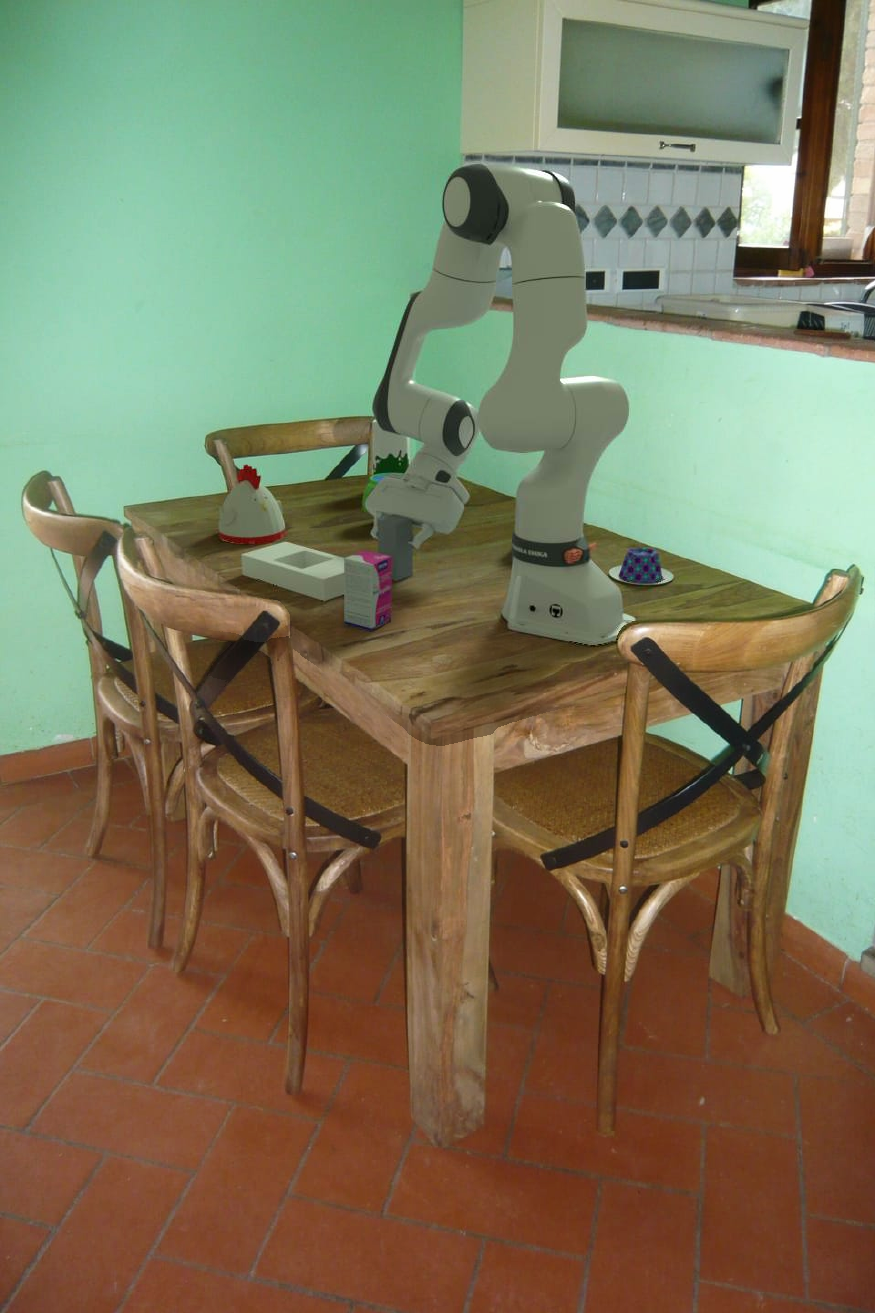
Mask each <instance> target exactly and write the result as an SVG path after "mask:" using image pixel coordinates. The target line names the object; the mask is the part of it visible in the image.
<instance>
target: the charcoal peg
mask: <svg viewBox="0 0 875 1313" xmlns="http://www.w3.org/2000/svg"><path fill="white" fill-rule="evenodd" d="M412 535H413V526H412V520H411V519H409V518H405V517H401V516H396V515H390V516H387V517H383V518H380V519H378V539H377V549H378V550H377V551H378V554H383V555H388V556H391V557H392V579H391V580H392V581H394V582H398V581H401V580H404V579H408V578H410V577H412V576H413V575H414V574H413V563H414V562H413V548H412V547H410V545H409V544H408V541H409V540H410V538H411V536H412Z"/></svg>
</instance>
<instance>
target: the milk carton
mask: <svg viewBox="0 0 875 1313" xmlns="http://www.w3.org/2000/svg"><path fill="white" fill-rule="evenodd" d="M371 423H372V427H371V428H372V429H371V435H372V438H371V439H372V441H371V444H372V476H373V475H376V474H382V473H404V474H405V472H406V470H407V469H408V467H409V465H410V463H411V458H410V457H411V451H410V450H411V447H410V445H411V444H410V443H411V438H409V437H407V436H404V435H399V434H395V433H391V432H388V431H384V430H382V429H381V428H380V426H379V425H378V423H377V421H376V419H375V418H374V419H373V421H372V422H371Z"/></svg>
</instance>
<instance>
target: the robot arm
mask: <svg viewBox="0 0 875 1313" xmlns="http://www.w3.org/2000/svg"><path fill="white" fill-rule="evenodd" d="M441 199H442V200H441V202H442V203H441V204H442V205H441V206H442V207H441V208H442V213H443V214H442V215H443V217H444V221H443V223H442V226H441V229H440V233H439V237H438V240H437V244H436V249H435V253H434V258H433V264H432V269H431V273H430V277H429V279H428V281H427V283H426V284H425V286H424V288H423V289H422V290H419V291H416V292H415V293H414V294H413V295H412V296H411V298H410V299H409V301H408V303H407V305H406V307H405V308H404V312H403V314H402V318H401V320H400V324H399V326H398V329H397V333H396V334H395V335H396V336H395V339H394V341H393V345H392V348H391V350H390V351H391V352H390V355H389V358H388V361H387V364H386V367H385V371H384V373H383V376H382V379H381V381H380V383H379V386H378V387H377V390H376V392H375V394H374V397H373V401H372V405H371V406H372V413H373V416H374V419H376V421H377V423H378V425H379V426H380V428H381V429H382V430H384V431H388V432H391V433H395V434H399V435H404V436H407V437H409V438H410V439H412V440H415V441H418V442H420V443H422V444H423V445H422V447H421V448H420V449H419V450H417V451H416V454H414V456H413V457H412V460H411V461H410V465H409V467H408V469H407V470H406V472H405V474H404V475H399V474H397V473H391V475H387V476H385V477H383V479H382V480H381V481H380V482H379V483H378V484H377V485H376V487H375V488H374V489H373V491H371V492H370V495H369V496H368V498H367V499H366V501H365V508H366V509H367V510H368V512H369V513H368V514H370V515H371V516H373V527H372V529H371V530H370V535H371V537H372V538H374V539H377V540H378V519H380V518H383V517H387V516H390V515H396V516H401V517H405V518H409V519H411V520H412V527H417V528H420V529H421V530H420V531H419V532H417V534H415V535H413V534H412V536H411V538H410V540H409V541H408V544H409V545H410V547H412V549H413V548H414V549H416V550H418V549H419V548H420V547H421V545H422V543H423V542H425V541H426V540H427V539H429V538H430V537H431V536H433V534H434V532H436V533H441V534H445V535H448V534H450V533H451V532H453V531H454V530H455V529H456V527H457V525H458V523H459V522H460V520H461V518H462V515H463V512H464V511H465V504H467V503H468V501H469V499H470V496H471V495H470V494H469V492H468V491H467V488H465V486H464V485H463V483H462V482H461V481H460V480H459V479H458V478H457V476H458V472H459V470H460V468H461V466H462V465H463V464H464V463H465V462H466V461H467V459H468V457H469V455H470V453H471V452H472V449H473V447H474V446H475V444H476V440H477V438H478V437H479V433H481V436H482V438H483V439H484V441H485V442H486V443H487V445H489V447H490V448H492V449H493V450H496V451H501V452H507V453H516V454H517V453H518V454H528V453H536V452H543V454H542V457H541V458H540V461H539V463H538V464H537V465H536V466H535V468H533V469H532V471H531V472H529V473H527V475H525V477H523V478H522V480H521V481H520V482H519V484H518V486H517V489H516V494H515V495H516V496H515V515H514V516H515V517H514V518H515V519H514V522H515V523H514V531H512V535H511V548H510V549H511V551H510V552H511V553H510V554H511V558H512V566H511V574H510V579H509V586H508V590H507V594H506V595H507V596H506V598H505V599H506V600H505V601H504V605H503V608H502V610H501V615H502V617H503V618H504V619H505V620H506V622H507V628H508V629H509V630H512V631H515V632H521V633H525V634H530V635H535V636H540V637H545V638H550V639H555V640H560V641H565V642H569V641H573V642H572V643H574V642H578V643H577V644H579V643H583V644H582V645H584V644H588V645H587V646H590V645H594V644H601V643H606V642H609V641H613V642H616V641H617V640H616V638H617V635H618V633H619V631H620V630H621V628H622V627H623V626H624V625H626V624H628V623H631V622H632V621H636V618H635V617H634V616H632V615H630V614H627V613H626V612H625V613H624V605H623V598H622V597H623V596H622V592H621V590H620V588H619V586H618V585H617V584H616V583H614V581H613V580H611V579H610V577H608V576H607V575H606V573H604V571H602V569H601V568H600V567H599V566H598V565H597V564H596V563H595V562H594V561H593V560H592V559H591V558H592V556H591V552H592V551H594V550H596V549H597V547H595V546H596V545H597V542H593V543H592V542H591V543H589V544H588V542H587V539H586V536H585V534H584V533H583V531H584V520H585V512H586V511H585V508H586V501H587V500H586V499H587V494H588V488H589V485H590V481H591V478H592V476H593V474H594V471H595V469H596V466H597V464H598V462H599V460H600V459H601V457H602V455H603V454H604V452H605V450H607V448H608V447H609V446H610V444H611V443H612V442H613V441H614V440H615V439H616V438H617V437H618V436H620V434H622V432H623V431H624V429H625V427H626V425H627V423H628V419H629V415H630V403H629V399H628V395H627V393H626V390H625V389H624V387H623V385H622V384H620V382H619V381H617V380H616V379H613V378H607V377H605V376H604V377H603V376H597V375H591V374H584V375H582V374H581V375H572V376H571V375H570V376H561V374H562V373H561V371H562V367H563V363H564V360H565V357H566V355H567V353H568V352H569V351H570V350H571V349H573V348H574V347H575V346H576V345H578V344H579V343H580V342H581V341H582V340H583V339H584V337H585V335H586V332H587V328H588V313H587V312H588V311H587V310H588V309H587V288H586V287H587V286H586V266H585V256H584V248H583V243H582V242H583V241H582V236H581V231H580V227H579V223H578V219H577V215H576V213H575V212H576V197H575V192H574V189H573V186H572V185H571V183H570V181H569V180H568V179H567V178H565V177H564V176H562V175H561V174H559V173H557V172H553V171H550V170H547V169H544V170H538V169H533V168H527V167H522V166H521V167H520V166H518V165H515V164H487V165H486V164H485V165H484V164H482V163H474V164H468V165H464V166H461V167H458V168H457V169H455V170H454V171H453V172H452V173H451V174H450V175H449V177H448V179H447V181H446V183H445V186H444V188H443V193H442V198H441ZM506 248H507V250H508V251H509V254H510V260H511V285H512V286H511V288H512V289H511V290H512V291H511V292H512V311H513V314H512V317H513V318H512V319H513V320H512V321H513V324H512V326H513V327H512V328H513V331H512V342H511V348H510V352H509V355H508V359H507V361H506V364H505V366H504V368H503V370H502V373H501V374H500V376H499V377H498V379H497V380H496V381H495V382H494V384H493V385H492V386H491V387H490V388H489V389H488V390H487V391H486V392H485V394H484V395H483V397H482V398H481V401H480V403H479V406H478V407H479V408H478V410H477V408H476V407H474V405H472V404H471V403H469V402H467V401H465V400H464V399H462V398H460V397H458V396H455V395H452V394H450V393H447V392H445V391H441V390H438V389H435V388H431V387H428V386H426V385H422V384H420V383H418V382H417V381H416V380H415V379H414V372H415V369H416V368H415V367H416V365H417V362H418V359H419V356H420V353H421V351H422V347H423V343H424V341H425V339H426V337H427V336H428V334H429V333H431V332H432V331H438V330H448V329H455V328H461V327H465V326H469V325H472V324H473V323H475V322H477V321H479V320H480V319H481V318H483V317H484V316H485V315H486V314H487V313H488V312H489V310H490V308H491V306H492V303H493V300H494V297H495V293H496V288H497V285H498V284H497V283H498V279H499V272H500V268H501V260H502V256H503V252H504V250H505V249H506Z"/></svg>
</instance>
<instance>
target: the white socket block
mask: <svg viewBox="0 0 875 1313" xmlns="http://www.w3.org/2000/svg"><path fill="white" fill-rule="evenodd" d="M240 557H241V558H240V559H241V570H242V571H241V572H242V576H245V577H248V578H251V579H255V580H257V579H260V580H263V581H266V582H265V583H267V582H269V583H268V584H270V583H271V584H270V585H273V584H274V586H276V585H277V587H279V588H283V589H286V590H287V591H292V592H295V593H298V594H301V595H304V596H307V597H310V598H314V599H317V600H320V601H322V600H323V602H326V601H329V600H331V599H334V598H337V597H340V596H342V595H344V558H345V557H342V556H338V555H335V554H332V553H327V552H324V551H320V550H316V549H313V548H309V547H306V546H303V545H299V544H295V543H291V542H288V541H282V542H280V543H275V544H272V545H270V546H264V547H262V548H258V549H256V550H250V551H249V552H245V553H241V554H240ZM260 580H259V581H260ZM263 581H262V582H263ZM325 600H326V601H325Z"/></svg>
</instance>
